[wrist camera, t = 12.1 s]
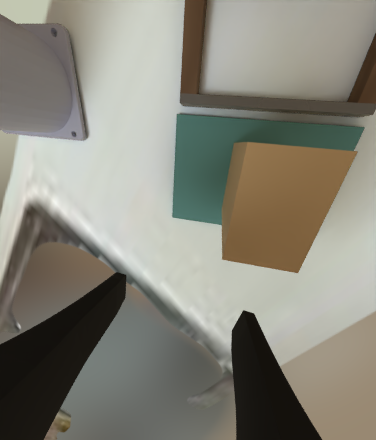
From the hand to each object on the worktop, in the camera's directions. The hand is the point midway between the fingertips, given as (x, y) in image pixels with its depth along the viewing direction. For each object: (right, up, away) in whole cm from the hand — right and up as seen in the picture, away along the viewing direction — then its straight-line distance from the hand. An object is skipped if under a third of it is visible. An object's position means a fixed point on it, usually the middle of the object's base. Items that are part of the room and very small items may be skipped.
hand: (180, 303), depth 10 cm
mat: (+6, +9, +5) cm, 12 cm away
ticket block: (+6, +9, +5) cm, 12 cm away
